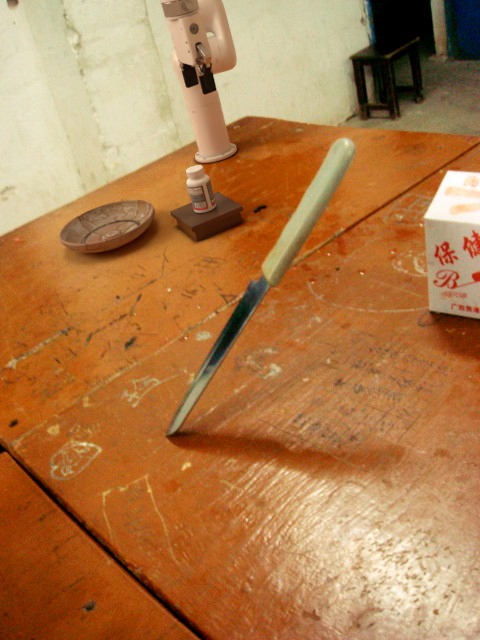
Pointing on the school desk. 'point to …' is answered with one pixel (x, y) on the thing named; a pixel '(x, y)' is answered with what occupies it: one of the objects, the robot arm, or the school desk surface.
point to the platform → (208, 217)
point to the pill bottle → (200, 189)
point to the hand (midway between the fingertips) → (201, 89)
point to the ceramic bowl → (107, 226)
